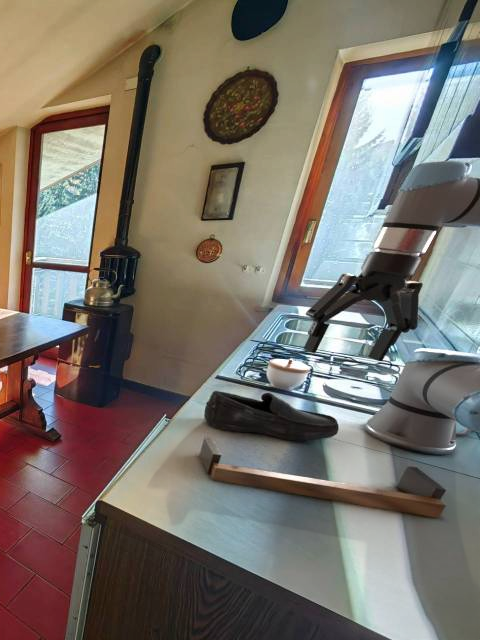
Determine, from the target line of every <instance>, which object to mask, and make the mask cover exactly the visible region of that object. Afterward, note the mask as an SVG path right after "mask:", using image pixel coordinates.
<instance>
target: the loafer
mask: <svg viewBox="0 0 480 640" xmlns="http://www.w3.org/2000/svg"><path fill="white" fill-rule="evenodd" d="M260 399H261V400H259V399H255V398H252V397H251V398H250V397H246V396H241V395H239V394H234V393H230V392H225V391H219V390H214V391H212V393H211V394H210V397H209V399H208V400H207V401H206V403H205V404H206V405H205V407H204V414H203V417H204V420H205V421H206V422H207V423H208V425H210V426H211V427H213V428H215V429H218V430H224V431H228V432H235V433H236V432H238V433H256V434H257V433H258V434H264V435H265V434H266V435H269V436H272V437H276V438H278V439H281V440H286V441H287V440H288V441H291V440H292V441H294V442H295V441H298V442H307V441H308V442H313V441H320V440H324V439H329V438H333V437H334V436H336V435H337V434H338V432H339V430H340V427H339V423H338V421H337V419H336V418H335V417H333V416H331V415H327V414H325V413H320V412H314V411H308V410H303V409H298V408H295V407H294V406H292V405H291V404H290V403H289V402H286V401H285V400H284V399H281V398H279V397H278V396H276V395H275V394H273V393H271V392H264V393H262V394H261V396H260Z"/></svg>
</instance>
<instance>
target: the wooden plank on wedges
mask: <svg viewBox="0 0 480 640" xmlns="http://www.w3.org/2000/svg"><path fill="white" fill-rule="evenodd" d="M202 441H203V442H202V445H201V447H200V451H199V458H200V460H201V462H202V465H203V468H204V470H205V472H206V474H207V475H210V478H211V480H212V481H217V482H224V483H229V484H236V485H241V486H247V487H253V488H259V489H264V490H271V491H276V492H281V493H282V492H283V493H289V494H295V495H300V496H307V497H312V498H319V499H323V500H329V501H334V502H342V503H345V504H352V505H357V506H358V505H359V506H365V507H371V508H377V509H382V510H387V511H388V510H389V511H392V512H393V511H394V512H400V513H406V514H411V515H412V514H413V515H418V516H422V517H423V516H424V517H430V518H435V519H439V518H440V516H441V515H442V513H443V512H444V509H445V508H446V506H447V504H446V503H444V502H443V501H441V500H442V498H443V497H444V495H445V493H446V491H447V489H446V488H445V487H443V486H442V485H441V484H439V483H438V482H437V481H435V479H433V478H432V477H430V476H429V475H427V474H426V473H425V472H424V471H422V470H421V469H420V468H418V467H417V466H409V465H407V467H406V468H405V470H404V472H403V474H402V476H401V477H400V479H399V481H398V483H397V484H396V487H397V488H398V489H399V490H400V491H401V492H399V491H393V490H387V489H381V488H376V487H370V486H362V485H357V484H350V483H343V482H338V481H331V480H324V479H318V478H312V477H307V476H306V477H305V476H299V475H293V474H289V473H288V474H287V473H281V472H275V471H270V470H269V471H268V470H262V469H255V468H250V467H243V466H238V465H231V464H226V463H225V464H223V463H220V461H221V457H222V454H221V452H220V450H219V448H218V446H217V445H216V442H215V441H214V439H213V437H210V436H204V437H203V440H202Z"/></svg>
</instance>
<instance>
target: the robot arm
mask: <svg viewBox="0 0 480 640" xmlns="http://www.w3.org/2000/svg"><path fill="white" fill-rule="evenodd" d="M472 168H473V165H472V164H471V163H470V162H468V161H467V162H466V161H460V160H435V161H426V162H421V163H418V164H416V165H415V166H413V167H412V168H411V170H410V171H409V172H408V175H407V176H406V177H405V179H404V180H403V183H402V185H401V186H400V187H399V189H398V190H397V191H398V193H397V195H396V197H395V199H394V201H393V203H392V205H391V207H390V209H389V211H388V213H387V215H386V217H385V220H384V221H383V224H382V225H381V227H380V229H379V231H378V233H377V235H376V237H375V239H374V242H373V243H372V245H371V248H372V249H374V250H373V251H370V252H369V253H367V255H366V257H365V259H364V260H363V263H362V265H361V267H360V269H361V272H360V274H359V275H356V274H350V273H341V275H340V276H339V278H338V280H337V281H336V283H335V284H334V285H333V286H332V287H331V288H330V289H329V290H327V292H326V293H325V294H324V295H323V296H321V297H320V298H318V299H319V300H317V301H316V302H315V303H314V304H313V305H312V306H311V307H310V308H309V309H308V310H307V311H306V312H305V316H307V317H309V318H310V319H312V323H311V325H310V327H309V329H308V331H307V335H308V338H307V339H306V342H305V344H304V346H303V348H302V349H303V350H306V351H307V352H309V353H312V354H316V352H317V351H318V349H319V347H320V344H321V343H322V340H323V338H324V337H325V335H326V332H327V330H328V328H329V327H330V324H331V323H329V322H328V321H329V320H331V319H333V318H334V317H336V316H338V315H339V314H341V313H342V312H344V311H345V310H347V309H348V308H350V307H352V306H353V305H355V304H356V303H359V302H362V301H368V302H369V301H370V302H374V301H375V302H378V303H380V304H381V307H382V310H383V312H384V317H385V318H386V321H387V325H388V328H385V327H383V328H382V331H381V332H380V333H379V336H378V338H377V339H376V341H375V343H374V345H373V347H372V348H371V350H370V352H369V353H368V355H367V357H368V358H370V359H373V360H375V361H378V362H383V361H384V359H385V357H386V355H387V354H388V352H389V351H390V348H391V347H393V346H395V344H396V343H397V341H398V340H399V338H400V336H401V335H402V333H404V334H406V333H408V332H410V331H414V330H416V329H418V325H419V324H418V321H419V320H418V319H419V297H420V293H421V291H422V288H423V286H424V283H423V282H419V281H413V280H407V279H408V278H409V277H412V276H413V275H414V273H415V271H416V269H417V267H418V266H419V264H420V262H421V260H422V258H421V256H420V254H422V255H423V254H426V252H427V250H428V248H429V246H430V244H431V242H432V240H433V239H434V237H435V235H436V233H437V231H438V230H439V228H440V227H443V228H459V229H460V228H461V229H473V230H480V178H479V177H474V176H470V175H471V171H472ZM352 287H353V288H352ZM399 292H400V296H399ZM457 424H459V425H460V426H461V427H464V428H466V429H464V430H463V431H461V432H457ZM364 429H365V431H366V432H367V433H368V434H369V435H371V436H373V437H374V438H376V439H378V440H380V441H382V442H384V443H387V444H389V445H392V446H394V447H397V448H402V449H405V450H409V451H412V452H417V453H421V454H428V455H435V456H436V455H437V456H440V455H442V456H445V455H450V454H451V453H452V452H453V451H454V449H455V447H456V445H457V438H461V437H466V436H468V435H469V434H470V433H473V432H476V433H478V434H480V354H478V353H472V352H471V353H470V352H466V351H465V352H464V351H457V350H447V349H438V348H437V349H435V348H418V349H415V350H413V351H412V352H411V353H410V355H409V356H408V358H407V360H406V361H405V362H404V366H403V368H402V371H401V373H400V374H399V377H398V378H397V381H396V383H395V385H394V388H393V389H392V392H391V394H390V396H389V398H388V400H387V402H386V403H385V404H384V405H383V406H382V407H381V408H380V409H378V411H376V413H375V414H373V415H372V416H371V417H370V418H369V419H368V420H367V421H366V423H365V426H364Z"/></svg>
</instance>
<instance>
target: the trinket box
mask: <svg viewBox="0 0 480 640" xmlns="http://www.w3.org/2000/svg"><path fill="white" fill-rule="evenodd" d="M267 364H268V365H267V368H266V379H267V380H268V383H270V386H272V387H274V388H276V389H279V390H285V391H293V390H294V389H295V388H298V387H300V386H301V385H302V384H304V382H305V381H306V379H307V378H308V375H309V373H310V371H311V367H310V366H309V365H307V364H305V363H303V362H299V361H295V360H294V359H292V358H289V359H283V358H272V359H269V361H268V363H267Z"/></svg>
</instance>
